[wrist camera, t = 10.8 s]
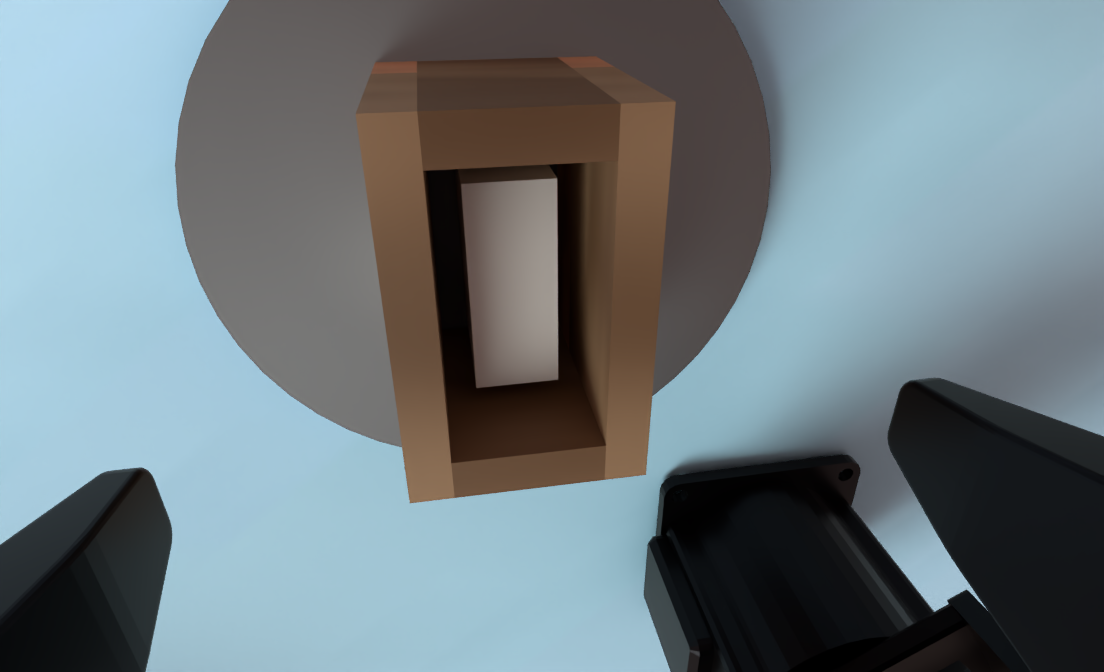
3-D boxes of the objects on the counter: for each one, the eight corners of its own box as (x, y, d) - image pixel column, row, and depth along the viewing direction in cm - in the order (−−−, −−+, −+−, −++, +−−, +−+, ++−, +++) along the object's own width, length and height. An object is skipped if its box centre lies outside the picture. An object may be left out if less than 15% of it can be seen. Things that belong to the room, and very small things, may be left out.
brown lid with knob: (792, -118, 14) (936, -146, 10) (720, 407, 20) (792, 513, 16) (103, -121, 12) (-45, -157, 8) (262, 458, 18) (221, 591, 15)
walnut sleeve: (588, 345, 17) (645, 474, 13) (411, 361, 17) (409, 503, 12) (596, 56, 14) (676, 101, 10) (375, 62, 13) (355, 113, 9)
